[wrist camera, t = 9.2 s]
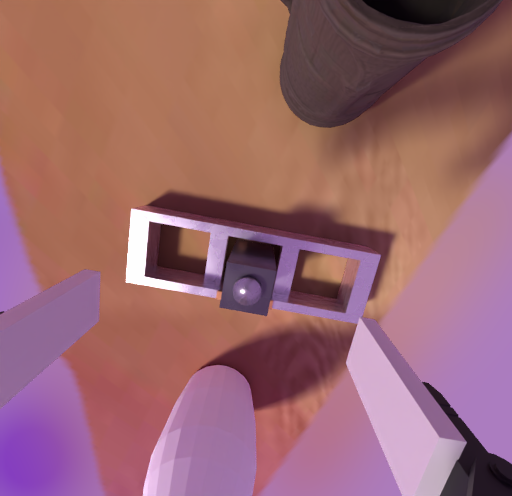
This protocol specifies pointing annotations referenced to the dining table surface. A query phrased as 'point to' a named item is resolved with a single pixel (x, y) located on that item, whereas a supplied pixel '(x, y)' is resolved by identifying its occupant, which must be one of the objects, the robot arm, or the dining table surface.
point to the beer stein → (364, 49)
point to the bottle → (207, 439)
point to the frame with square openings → (211, 284)
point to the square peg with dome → (249, 277)
